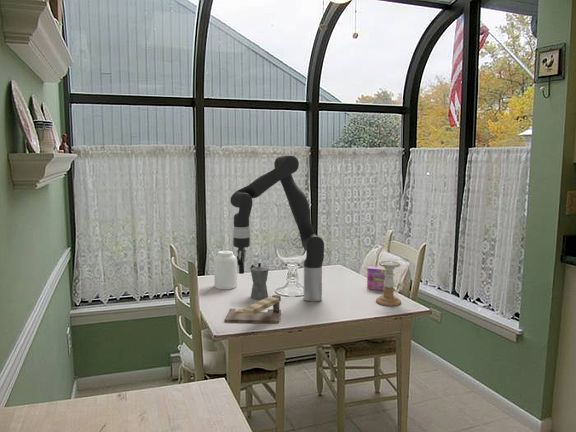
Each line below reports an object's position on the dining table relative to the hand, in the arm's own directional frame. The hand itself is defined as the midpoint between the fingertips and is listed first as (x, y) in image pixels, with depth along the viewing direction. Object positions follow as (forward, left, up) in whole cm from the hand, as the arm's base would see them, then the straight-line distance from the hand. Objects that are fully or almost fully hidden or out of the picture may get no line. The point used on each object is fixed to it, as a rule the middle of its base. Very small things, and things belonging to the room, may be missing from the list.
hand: (241, 273), depth 223 cm
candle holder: (-71, -21, -19) cm, 77 cm away
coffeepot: (-5, -27, -19) cm, 34 cm away
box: (-69, -46, -19) cm, 85 cm away
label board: (-6, +4, -19) cm, 21 cm away
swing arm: (-11, +9, -13) cm, 19 cm away
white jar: (+15, -44, -19) cm, 50 cm away
